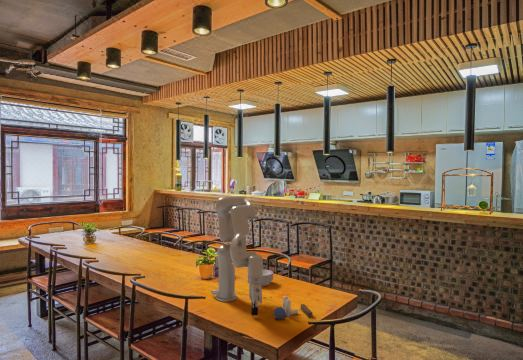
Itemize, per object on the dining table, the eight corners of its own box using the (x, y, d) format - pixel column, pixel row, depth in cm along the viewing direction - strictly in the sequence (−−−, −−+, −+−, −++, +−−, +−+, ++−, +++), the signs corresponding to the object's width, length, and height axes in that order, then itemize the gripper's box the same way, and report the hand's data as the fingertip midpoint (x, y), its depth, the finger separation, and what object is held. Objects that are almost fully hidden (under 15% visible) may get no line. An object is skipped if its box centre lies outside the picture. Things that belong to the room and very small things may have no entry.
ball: (283, 321, 179) (271, 318, 179) (285, 310, 183) (274, 307, 183) (284, 319, 174) (273, 316, 174) (287, 307, 178) (275, 304, 178)
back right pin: (285, 317, 180) (286, 301, 180) (285, 315, 183) (286, 299, 182) (290, 317, 180) (290, 301, 180) (290, 315, 182) (290, 299, 182)
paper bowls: (253, 279, 242) (253, 268, 242) (274, 281, 239) (275, 269, 239) (248, 286, 228) (248, 274, 227) (271, 288, 224) (271, 276, 224)
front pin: (281, 311, 182) (297, 309, 184) (280, 310, 184) (296, 309, 186) (282, 315, 182) (297, 314, 184) (280, 315, 184) (296, 314, 186)
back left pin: (282, 313, 185) (283, 297, 185) (283, 311, 188) (283, 295, 187) (287, 313, 185) (287, 297, 185) (287, 312, 187) (287, 296, 187)
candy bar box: (222, 272, 259) (222, 250, 258) (226, 273, 255) (227, 251, 255) (210, 275, 250) (210, 252, 250) (215, 276, 247) (215, 253, 246)
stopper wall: (308, 317, 180) (308, 312, 180) (300, 308, 192) (300, 304, 192) (312, 317, 181) (312, 312, 181) (304, 308, 193) (304, 303, 192)
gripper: (265, 283, 173) (265, 320, 173) (258, 274, 187) (258, 308, 188) (251, 284, 171) (250, 321, 171) (245, 275, 185) (244, 309, 186)
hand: (254, 314), depth 180 cm, fingers closed
